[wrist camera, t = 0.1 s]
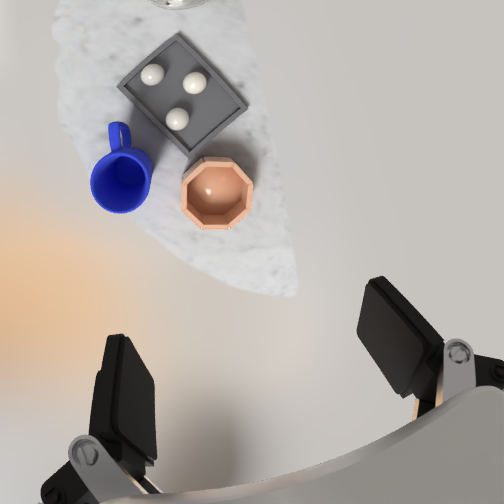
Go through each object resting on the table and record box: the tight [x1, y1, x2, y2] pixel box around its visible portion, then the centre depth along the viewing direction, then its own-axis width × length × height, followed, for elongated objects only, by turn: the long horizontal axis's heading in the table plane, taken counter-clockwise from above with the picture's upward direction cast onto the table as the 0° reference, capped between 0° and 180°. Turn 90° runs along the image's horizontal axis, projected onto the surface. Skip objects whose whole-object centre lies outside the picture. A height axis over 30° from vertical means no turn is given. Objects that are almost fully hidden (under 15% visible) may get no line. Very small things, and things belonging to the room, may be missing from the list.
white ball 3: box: [183, 72, 207, 94], centre depth 34 cm, size 4×4×4 cm
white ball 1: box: [141, 64, 164, 86], centre depth 31 cm, size 4×4×4 cm
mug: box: [90, 122, 153, 213], centre depth 34 cm, size 8×12×10 cm
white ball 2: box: [166, 108, 189, 130], centre depth 36 cm, size 4×4×4 cm
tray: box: [116, 34, 248, 159], centre depth 35 cm, size 17×12×1 cm
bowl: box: [181, 156, 254, 230], centre depth 42 cm, size 11×11×5 cm
